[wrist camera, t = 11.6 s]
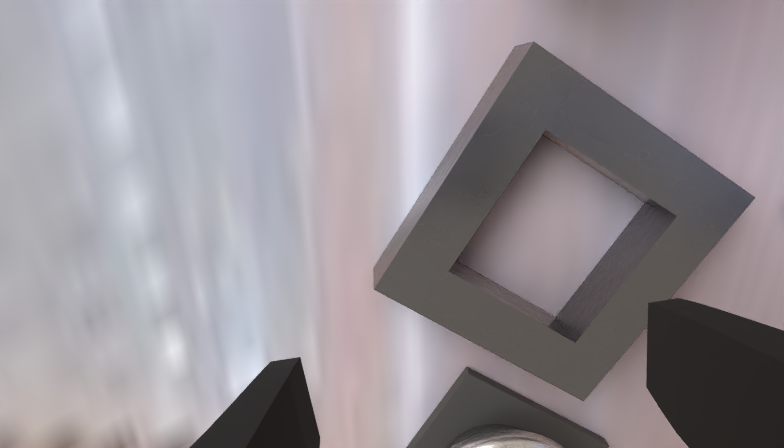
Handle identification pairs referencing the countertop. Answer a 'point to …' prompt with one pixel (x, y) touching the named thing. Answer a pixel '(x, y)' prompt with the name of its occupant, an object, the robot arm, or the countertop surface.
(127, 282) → the countertop surface
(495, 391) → the mat
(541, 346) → the frame
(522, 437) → the door knob
